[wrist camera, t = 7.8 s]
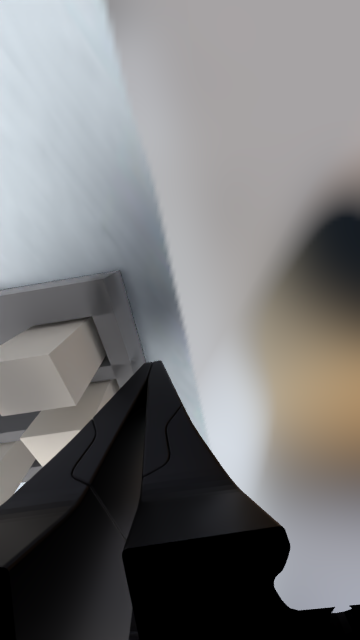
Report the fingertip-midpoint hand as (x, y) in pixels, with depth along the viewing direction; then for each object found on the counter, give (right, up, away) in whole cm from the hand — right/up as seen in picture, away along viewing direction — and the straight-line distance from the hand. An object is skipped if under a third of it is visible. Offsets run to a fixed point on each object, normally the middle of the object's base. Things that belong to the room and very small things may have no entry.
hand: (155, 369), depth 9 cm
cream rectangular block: (-7, +1, +5) cm, 8 cm away
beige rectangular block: (-6, -3, +7) cm, 10 cm away
